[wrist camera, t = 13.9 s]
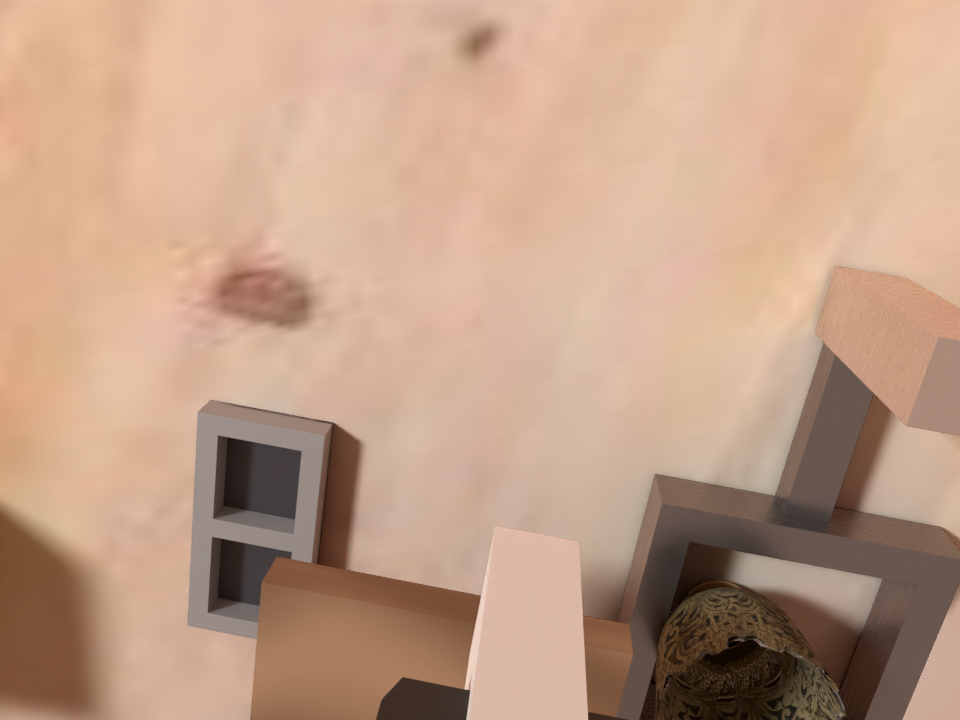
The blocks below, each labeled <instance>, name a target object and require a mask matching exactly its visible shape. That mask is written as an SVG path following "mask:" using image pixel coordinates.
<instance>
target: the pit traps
mask: <svg viewBox="0 0 960 720" xmlns="http://www.w3.org/2000/svg"><path fill="white" fill-rule="evenodd" d="M332 430H333V423H332V422H326V421H321V420H316V419H310V418H305V417H299V416H294V415H289V414H283V413H278V412H273V411H267V410H262V409H257V408H251V407H246V406H241V405H235V404H230V403H225V402H219V401H214V400H210V401H209V402H208V403H207V404H206V405H205V406H204V407H203V408H202V409H201V410H199V411H198V421H197V441H196V462H195V482H194V503H193V524H192V544H191V565H190V586H189V606H188V626H192V627H198V628H203V629H208V630H213V631H218V632H223V633H228V634H233V635H238V636H243V637H248V638H253V639H257V633H258V621H259V609H260V597H261V585H262V581H263V579H264V577H265V576H266V574H267V572H268V571H269V569H270V567H271V566H272V564H273V562H274V561H275V559H276V557H282V558H288V559H293V560H298V561H303V562H308V563H313V564H318V558H319V549H320V540H321V531H322V522H323V513H324V504H325V494H326V485H327V476H328V467H329V458H330V449H331V439H332Z"/></svg>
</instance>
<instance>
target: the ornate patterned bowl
mask: <svg viewBox="0 0 960 720" xmlns="http://www.w3.org/2000/svg"><path fill="white" fill-rule="evenodd" d="M837 692H839V689H838V687H837V685H836V684H835V682H834V681H833V680H832V679H831V677H830V676H829V674H828V673H827V671H826V670H825V668H824V667H823V665H822V663H821V662H820V660H819V659H818V657H817V656H816V654H815V653H814V651H813V650H812V648H811V646H810V645H809V643H808V642H807V640H806V639H805V638H804V636H803V635H802V633H801V632H800V630H799V629H798V628H797V626H796V625H795V624H794V622H793V621H792V620H791V619H790V618H789V617H788V616H787V614H786V613H785V612H783V611H782V610H781V609H780V608H779V607H778V606H777V605H776V604H774V603H773V602H771V601H770V600H768V599H767V598H765V597H763V596H761V595H759V594H757V593H754V592H752V591H748V590H745V589H742V588H740V587H739V586H737V585H735V584H733V583H730V582H726V581H719V580H715V581H708V582H704V583H702V584H699V585H697V586H696V587H694V588H693V589H692V590H691V591H690V592H689V593H688V594H687V595H686V597H685V598H684V600H683V602H682V603H681V604H680V605H679V606H678V607H677V608H676V609H675V610H674V611H673V612H672V613H671V615H670V616H669V618H668V620H667V621H666V623H665V625H664V627H663V629H662V632H661V635H660V639H659V643H658V650H657V657H656V712H655V720H842V716H845V717H846V712H845V708H844V705H843V703H842V701H841V699H840V697H839V695H838V693H837Z"/></svg>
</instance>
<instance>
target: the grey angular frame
mask: <svg viewBox="0 0 960 720" xmlns="http://www.w3.org/2000/svg"><path fill="white" fill-rule="evenodd" d="M815 334H816V335H817V336H818V337H819V338H820V339H821V340H822V341H823V342H824V344H823V347H822V350H821V354H820V357H819V360H818V363H817V366H816V369H815V372H814V376H813V379H812V382H811V385H810V388H809V391H808V394H807V398H806V401H805V404H804V407H803V410H802V413H801V417H800V420H799V423H798V426H797V429H796V432H795V435H794V439H793V442H792V445H791V448H790V451H789V454H788V458H787V461H786V464H785V467H784V470H783V473H782V476H781V480H780V483H779V486H778V489H777V492H776V495H775V496H771V495H766V494H760V493H755V492H750V491H744V490H739V489H734V488H728V487H723V486H717V485H712V484H707V483H701V482H696V481H691V480H685V479H680V478H675V477H669V476H664V475H658V474H655V476H654V480H653V483H652V487H651V491H650V495H649V499H648V503H647V507H646V511H645V514H644V518H643V522H642V526H641V530H640V534H639V538H638V541H637V545H636V549H635V553H634V557H633V561H632V565H631V568H630V572H629V576H628V580H627V584H626V588H625V592H624V595H623V599H622V603H621V607H620V611H619V615H618V619H617V622H619V623H624V624H629V625H630V633H631V641H632V649H633V657H632V660H631V664H630V668H629V672H628V675H627V679H626V683H625V686H624V690H623V694H622V697H621V701H620V705H619V708H618V712H617V716H616V717H617V718H622V719H628V720H655V712H656V685H655V684H649V683H650V680H651V676H652V673H653V669H654V666H655V662H656V657H657V650H658V643H659V639H660V635H661V632H662V629H663V627H664V625H665V623H666V621H667V620H668V616H669V613H670V609H671V606H672V602H673V599H674V595H675V592H676V588H677V585H678V581H679V578H680V574H681V571H682V567H683V564H684V560H685V557H686V553H687V550H688V546H689V542H693V543H698V544H704V545H709V546H714V547H720V548H725V549H730V550H735V551H741V552H746V553H751V554H757V555H762V556H767V557H772V558H778V559H783V560H788V561H794V562H799V563H804V564H809V565H815V566H820V567H825V568H831V569H836V570H841V571H846V572H852V573H857V574H862V575H868V576H873V577H878V578H883V580H882V583H881V586H880V588H879V591H878V593H877V596H876V599H875V601H874V604H873V607H872V609H871V612H870V614H869V617H868V620H867V622H866V625H865V628H864V630H863V633H862V635H861V638H860V641H859V643H858V646H857V648H856V651H855V654H854V656H853V659H852V662H851V664H850V667H849V669H848V672H847V675H846V677H845V680H844V683H843V685H842V688H841V690H840V693H839V697H840V699H841V701H842V703H843V705H844V708H845V712H846V717H845V716H842V720H902V719H903V716H904V714H905V711H906V709H907V707H908V704H909V702H910V700H911V697H912V695H913V692H914V690H915V688H916V685H917V683H918V680H919V678H920V675H921V673H922V671H923V668H924V666H925V664H926V661H927V659H928V657H929V654H930V652H931V649H932V647H933V645H934V642H935V640H936V638H937V635H938V633H939V630H940V628H941V626H942V623H943V621H944V619H945V616H946V614H947V611H948V609H949V607H950V604H951V602H952V599H953V597H954V595H955V592H956V590H957V588H958V585H959V583H960V550H959V549H958V547H957V546H956V545H955V544H954V543H953V542H952V540H951V539H950V538H949V537H948V536H947V534H946V533H945V532H944V531H943V530H942V528H941V527H937V526H932V525H927V524H921V523H916V522H910V521H905V520H900V519H894V518H889V517H884V516H878V515H873V514H868V513H862V512H857V511H851V510H846V509H841V508H835V507H834V506H835V503H836V500H837V498H838V495H839V492H840V489H841V486H842V483H843V480H844V477H845V474H846V472H847V469H848V466H849V463H850V460H851V457H852V454H853V451H854V448H855V446H856V443H857V440H858V437H859V434H860V431H861V428H862V425H863V422H864V420H865V417H866V414H867V411H868V408H869V405H870V402H871V399H872V396H873V394H875V395H876V396H877V397H878V398H879V399H880V400H881V401H882V402H883V403H884V404H885V405H886V406H887V407H888V408H889V409H890V410H891V411H892V412H893V413H894V414H895V415H896V416H897V417H898V418H899V419H900V420H901V421H902V422H903V423H904V424H905V425H906V426H909V427H914V428H919V429H925V430H930V431H936V432H941V433H947V434H952V435H958V436H960V309H959V308H957V307H956V306H954V305H952V304H950V303H949V302H947V301H945V300H944V299H942V298H940V297H938V296H937V295H935V294H933V293H932V292H930V291H928V290H926V289H925V288H923V287H921V286H920V285H918V284H916V283H914V282H913V281H911V280H909V279H907V278H902V277H896V276H890V275H885V274H879V273H873V272H868V271H862V270H856V269H850V268H845V267H839V266H836V267H835V270H834V273H833V276H832V279H831V283H830V286H829V289H828V292H827V295H826V299H825V302H824V305H823V308H822V311H821V315H820V318H819V321H818V324H817V327H816V331H815Z"/></svg>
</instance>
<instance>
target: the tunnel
mask: <svg viewBox="0 0 960 720" xmlns="http://www.w3.org/2000/svg"><path fill="white" fill-rule="evenodd" d="M480 600H481V596H479V595H474V594H469V593H464V592H458V591H453V590H448V589H443V588H438V587H433V586H427V585H422V584H417V583H412V582H407V581H402V580H396V579H391V578H386V577H381V576H376V575H370V574H365V573H360V572H355V571H350V570H345V569H339V568H334V567H329V566H324V565H319V564H313V563H308V562H303V561H298V560H293V559H288V558H282V557H276V559H275V561H274V562H273V564H272V566H271V567H270V569H269V571H268V572H267V574H266V576H265V577H264V579H263V581H262V585H261V597H260V609H259V621H258V633H257V645H256V657H255V669H254V681H253V693H252V705H251V717H250V720H376V717H377V714H378V710H379V707H380V703H381V700H382V699H383V697H384V696H385V695H386V694H387V693H388V692H389V691H390V690H391V689H392V688H393V687H394V686H395V685H396V684H397V683H398V682H399V680H400V679H401V678H402V677H405V678H410V679H415V680H420V681H425V682H430V683H435V684H440V685H445V686H450V687H455V688H460V689H465V683H466V676H467V669H468V662H469V656H470V650H471V645H472V640H473V635H474V630H475V625H476V620H477V615H478V610H479V605H480ZM583 630H584V649H585V668H586V688H587V707H588V712H592V713H597V714H602V715H607V716H612V717H616V716H617V712H618V708H619V705H620V701H621V697H622V694H623V690H624V686H625V683H626V679H627V675H628V672H629V668H630V664H631V660H632V657H633V649H632V641H631V633H630V625H629V624H624V623H619V622H614V621H609V620H603V619H598V618H593V617H588V616H583Z"/></svg>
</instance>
